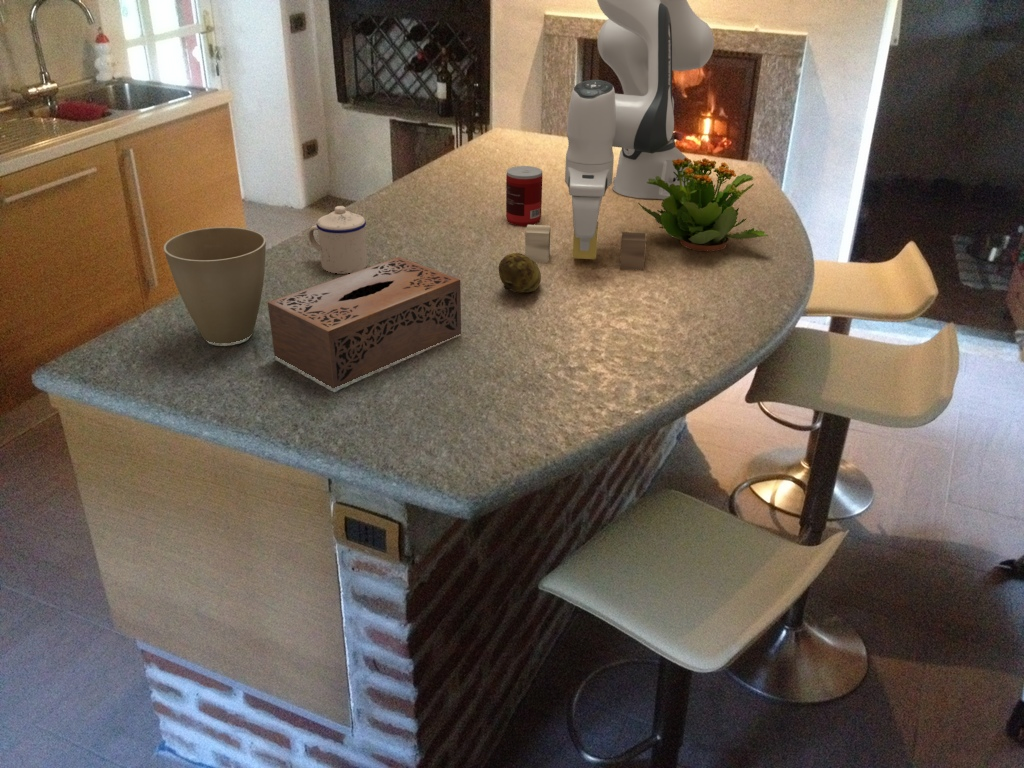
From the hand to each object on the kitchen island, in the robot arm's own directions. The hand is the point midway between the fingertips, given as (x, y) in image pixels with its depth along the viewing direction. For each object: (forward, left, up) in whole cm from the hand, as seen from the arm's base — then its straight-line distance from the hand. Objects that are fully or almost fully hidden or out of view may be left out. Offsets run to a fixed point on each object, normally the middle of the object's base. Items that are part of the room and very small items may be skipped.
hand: (585, 243), depth 173 cm
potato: (+19, +4, -4) cm, 20 cm away
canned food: (-6, -26, -4) cm, 27 cm away
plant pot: (+68, -10, -4) cm, 69 cm away
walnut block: (-6, +7, -4) cm, 10 cm away
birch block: (+6, -7, -4) cm, 10 cm away
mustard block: (0, 0, -2) cm, 2 cm away
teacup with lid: (+39, -27, -4) cm, 48 cm away
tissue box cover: (+52, +7, -4) cm, 53 cm away
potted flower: (-26, +8, -4) cm, 27 cm away
